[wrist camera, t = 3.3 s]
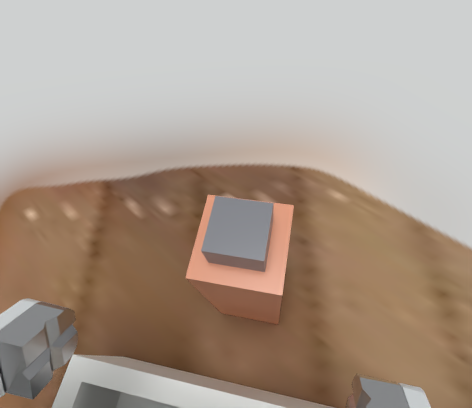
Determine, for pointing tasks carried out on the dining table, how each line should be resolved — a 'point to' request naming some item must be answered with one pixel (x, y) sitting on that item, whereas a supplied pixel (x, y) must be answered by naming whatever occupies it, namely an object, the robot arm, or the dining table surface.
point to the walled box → (156, 388)
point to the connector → (242, 256)
